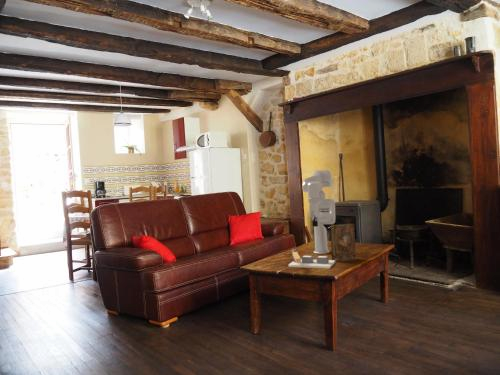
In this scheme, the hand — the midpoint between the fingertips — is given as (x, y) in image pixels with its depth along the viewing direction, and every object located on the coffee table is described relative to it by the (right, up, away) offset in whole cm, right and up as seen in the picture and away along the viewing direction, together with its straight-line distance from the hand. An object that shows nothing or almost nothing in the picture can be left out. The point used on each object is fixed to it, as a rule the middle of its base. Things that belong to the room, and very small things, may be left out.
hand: (315, 226), depth 288 cm
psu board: (-3, -26, -6) cm, 27 cm away
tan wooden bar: (-15, -21, -13) cm, 29 cm away
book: (+21, -24, +2) cm, 32 cm away
